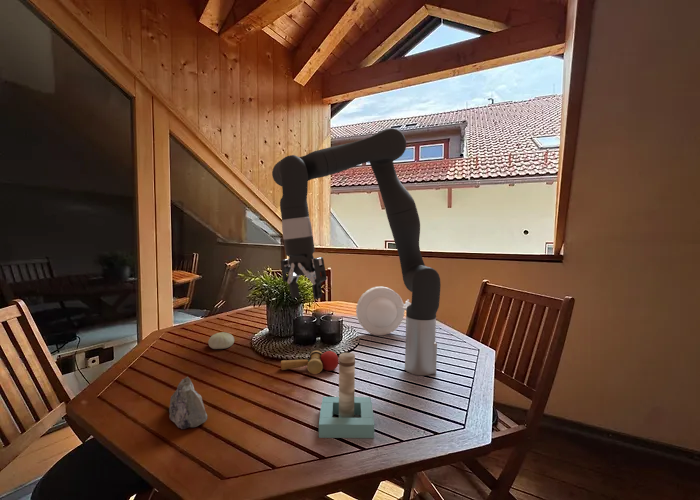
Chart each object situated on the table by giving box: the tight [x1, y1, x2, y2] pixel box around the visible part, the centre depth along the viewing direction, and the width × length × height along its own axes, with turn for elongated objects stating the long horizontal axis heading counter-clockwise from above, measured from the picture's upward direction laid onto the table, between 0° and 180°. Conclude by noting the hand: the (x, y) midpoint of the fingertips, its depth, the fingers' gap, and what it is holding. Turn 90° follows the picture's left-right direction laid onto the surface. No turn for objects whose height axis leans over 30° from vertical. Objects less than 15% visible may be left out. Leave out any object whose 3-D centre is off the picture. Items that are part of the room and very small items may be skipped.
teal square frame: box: [318, 396, 375, 439], centre depth 83 cm, size 12×12×3 cm
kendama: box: [280, 350, 339, 375], centre depth 112 cm, size 8×6×18 cm
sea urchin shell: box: [207, 331, 235, 350], centre depth 132 cm, size 9×8×8 cm
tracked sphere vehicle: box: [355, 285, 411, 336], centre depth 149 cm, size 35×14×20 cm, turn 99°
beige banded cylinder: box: [338, 352, 356, 418], centre depth 82 cm, size 4×4×16 cm
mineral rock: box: [168, 376, 208, 430], centre depth 85 cm, size 13×11×10 cm
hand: (306, 297), depth 93 cm, fingers open, 8 cm apart
